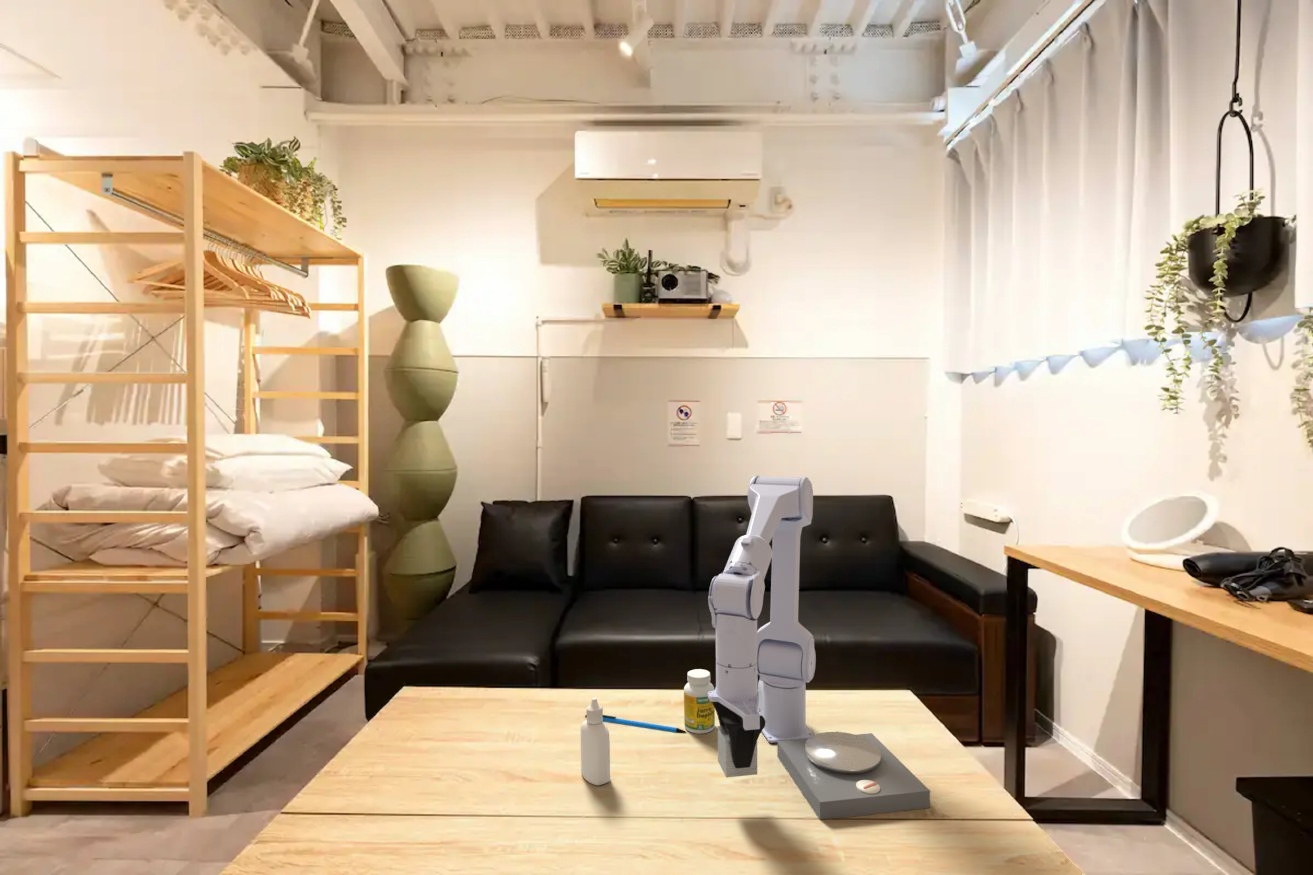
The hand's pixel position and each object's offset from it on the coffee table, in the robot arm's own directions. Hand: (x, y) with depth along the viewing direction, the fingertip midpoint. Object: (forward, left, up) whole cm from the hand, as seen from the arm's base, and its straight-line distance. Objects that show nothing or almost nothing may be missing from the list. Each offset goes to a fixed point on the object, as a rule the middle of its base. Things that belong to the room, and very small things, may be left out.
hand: (737, 757), depth 93 cm
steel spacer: (0, 0, -1) cm, 1 cm away
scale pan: (-5, +18, -4) cm, 19 cm away
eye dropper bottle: (-11, -19, -7) cm, 23 cm away
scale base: (-4, +18, -7) cm, 20 cm away
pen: (-27, -11, -7) cm, 30 cm away
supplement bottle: (-24, 0, -7) cm, 25 cm away
